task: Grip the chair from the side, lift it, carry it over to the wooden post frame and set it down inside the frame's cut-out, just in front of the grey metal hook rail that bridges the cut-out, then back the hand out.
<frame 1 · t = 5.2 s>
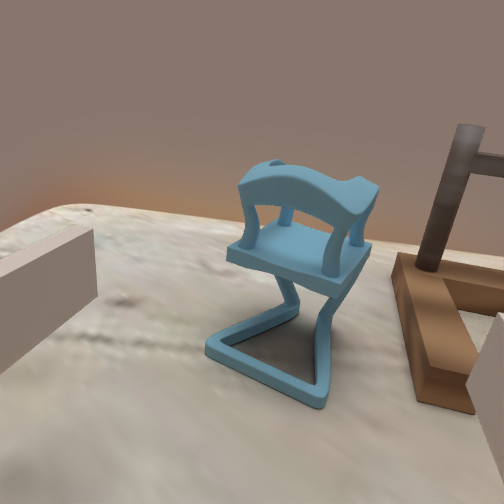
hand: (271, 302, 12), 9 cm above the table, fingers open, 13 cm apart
chair: (287, 346, 25), on the table
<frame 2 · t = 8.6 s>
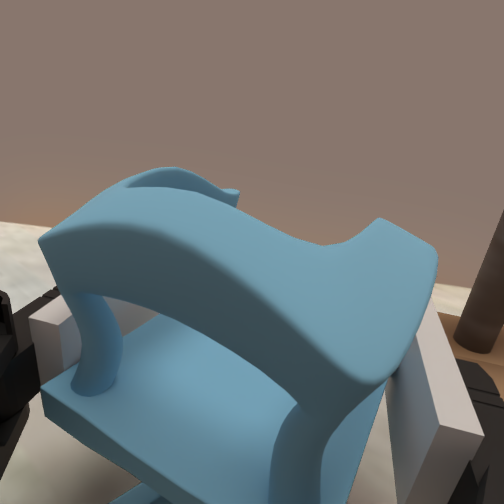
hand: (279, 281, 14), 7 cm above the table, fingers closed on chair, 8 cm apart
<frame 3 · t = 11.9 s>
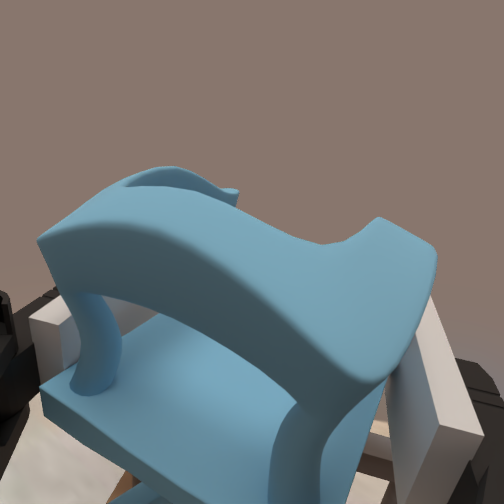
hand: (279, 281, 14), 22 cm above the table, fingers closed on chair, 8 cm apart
when the fingers open (8 cm above the table, at t = 15.1 s): chair moves 1 cm, on the table.
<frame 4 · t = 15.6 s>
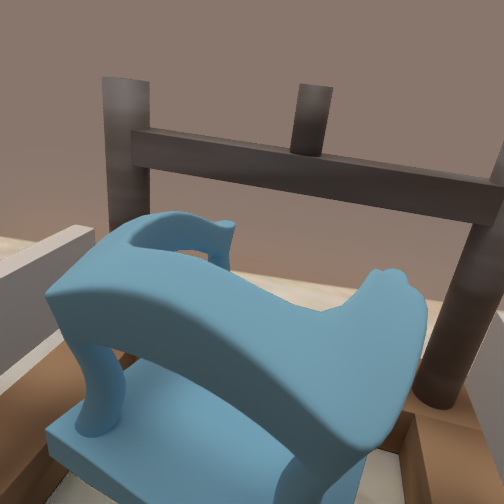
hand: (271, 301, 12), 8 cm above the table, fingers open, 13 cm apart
wooden post frame: (236, 494, 15), on the table
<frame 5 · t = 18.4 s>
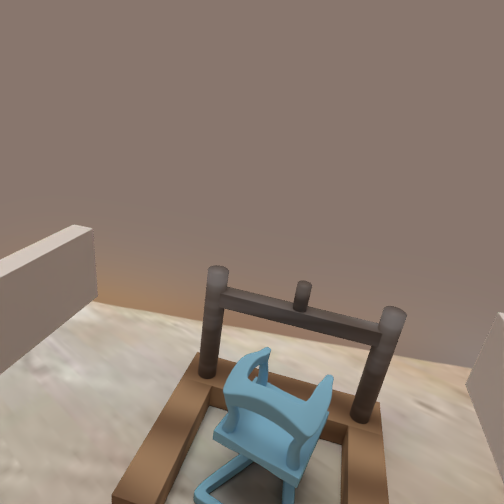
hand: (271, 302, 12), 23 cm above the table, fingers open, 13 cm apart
chair: (260, 485, 31), on the table
wooden post frame: (265, 460, 32), on the table
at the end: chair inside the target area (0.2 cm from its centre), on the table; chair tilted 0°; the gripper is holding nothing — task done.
